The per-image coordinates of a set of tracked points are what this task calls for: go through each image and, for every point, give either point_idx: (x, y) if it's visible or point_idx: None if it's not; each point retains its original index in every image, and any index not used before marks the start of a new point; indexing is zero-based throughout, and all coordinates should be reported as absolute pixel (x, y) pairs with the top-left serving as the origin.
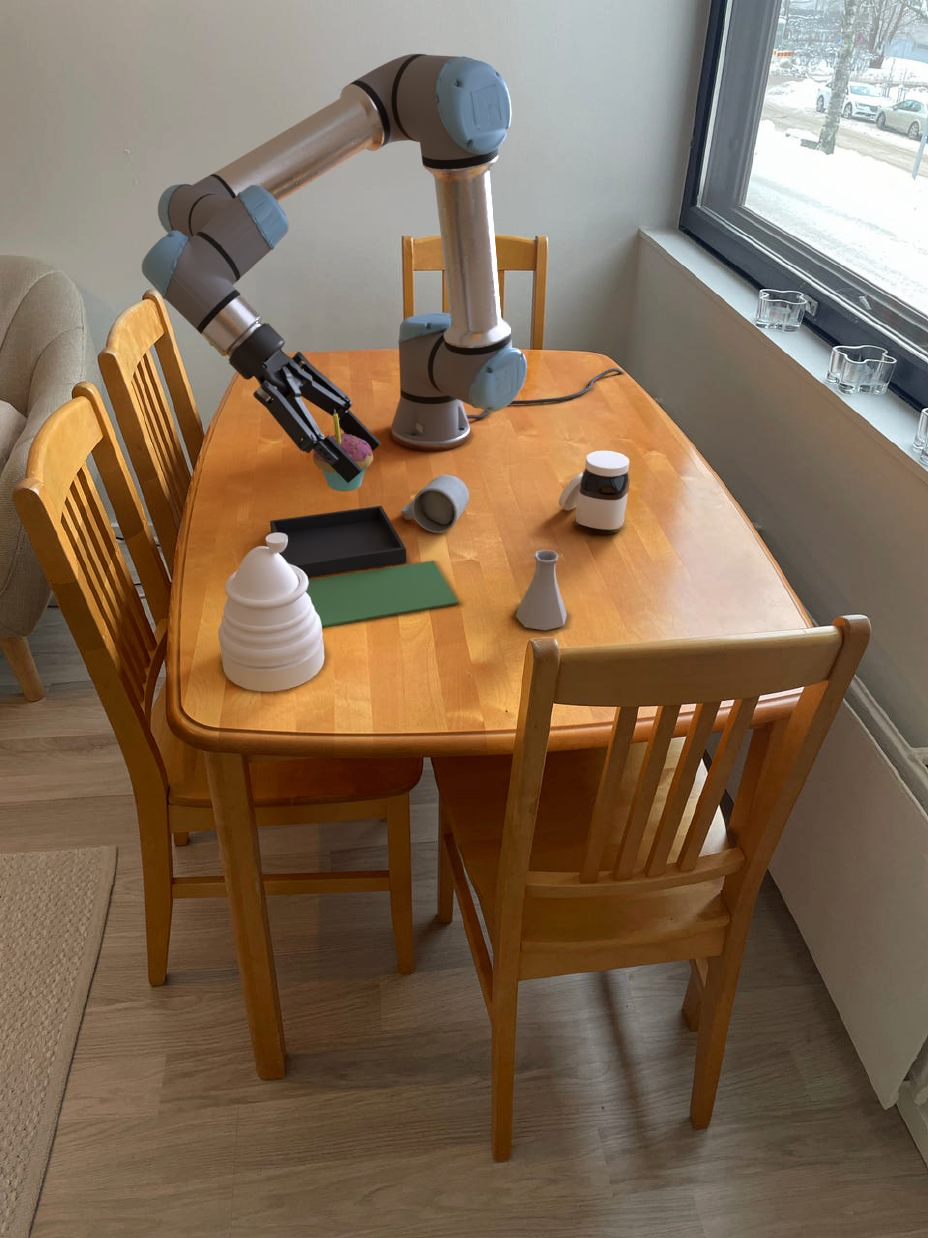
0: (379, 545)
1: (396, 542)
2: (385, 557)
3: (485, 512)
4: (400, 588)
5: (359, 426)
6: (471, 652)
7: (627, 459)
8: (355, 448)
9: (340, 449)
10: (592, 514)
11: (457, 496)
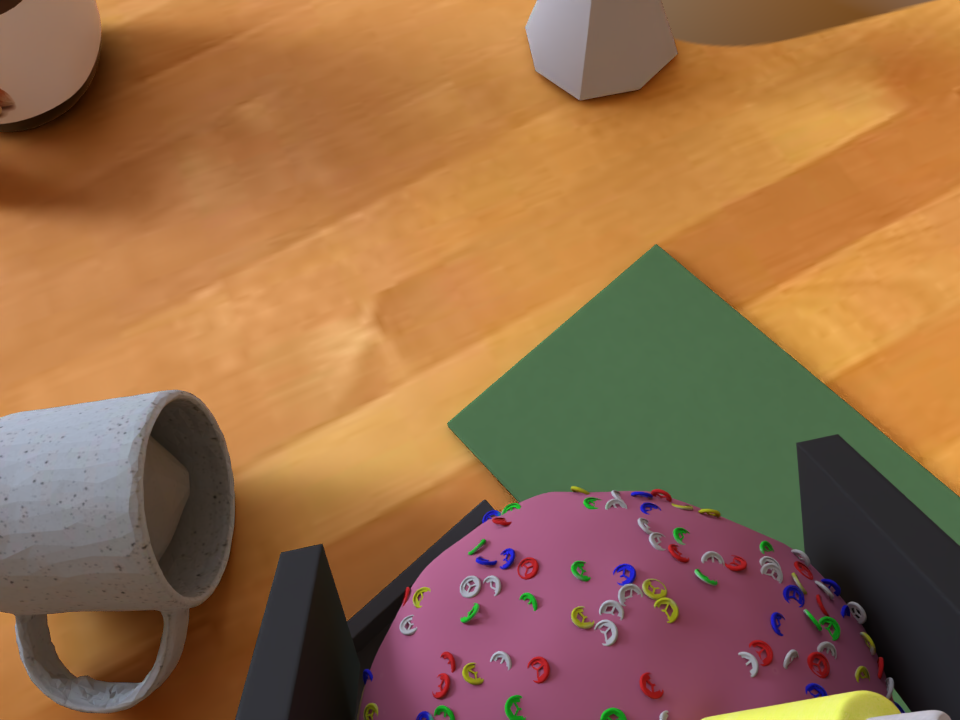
0: None
1: None
2: None
3: None
4: (680, 442)
5: (296, 717)
6: (863, 125)
7: None
8: (682, 556)
9: (957, 568)
10: (77, 13)
11: (112, 399)
